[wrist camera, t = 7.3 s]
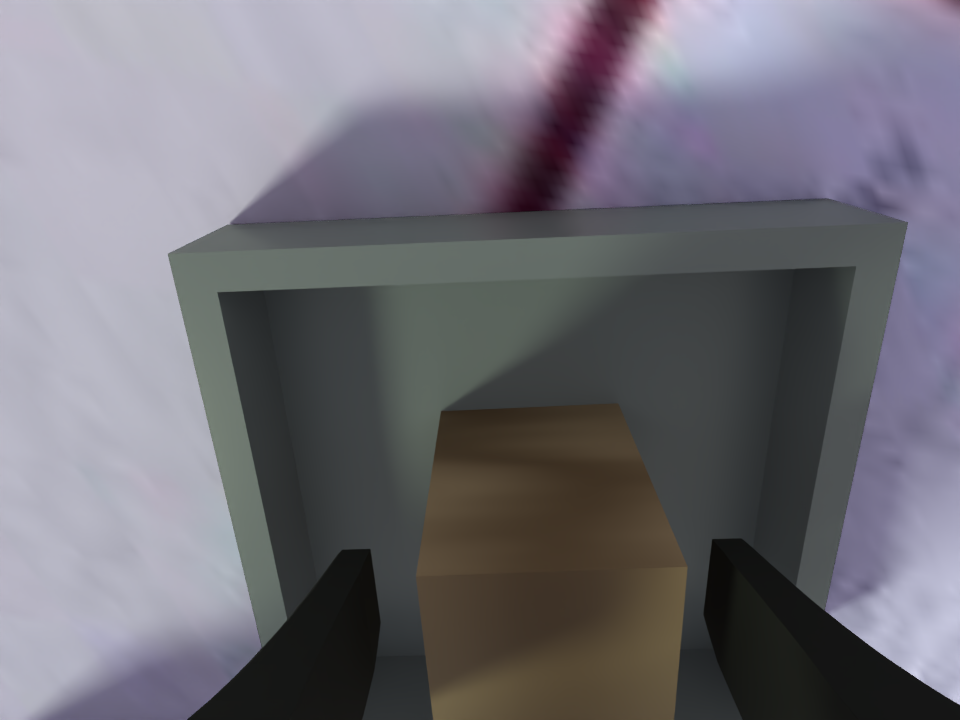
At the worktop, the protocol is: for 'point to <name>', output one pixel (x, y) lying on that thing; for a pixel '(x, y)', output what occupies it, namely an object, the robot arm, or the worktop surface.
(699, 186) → the worktop surface
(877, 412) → the worktop surface
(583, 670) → the walnut block
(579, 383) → the tray
